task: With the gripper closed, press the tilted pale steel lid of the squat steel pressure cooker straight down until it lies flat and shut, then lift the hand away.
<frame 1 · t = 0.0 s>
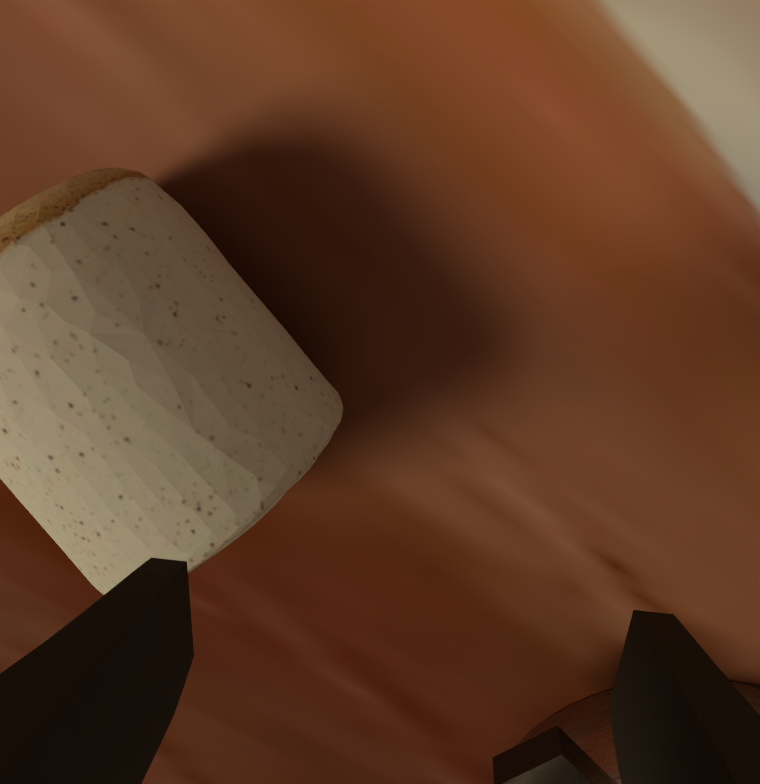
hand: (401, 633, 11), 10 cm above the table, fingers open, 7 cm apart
ceramic mug: (161, 359, 21), on the table
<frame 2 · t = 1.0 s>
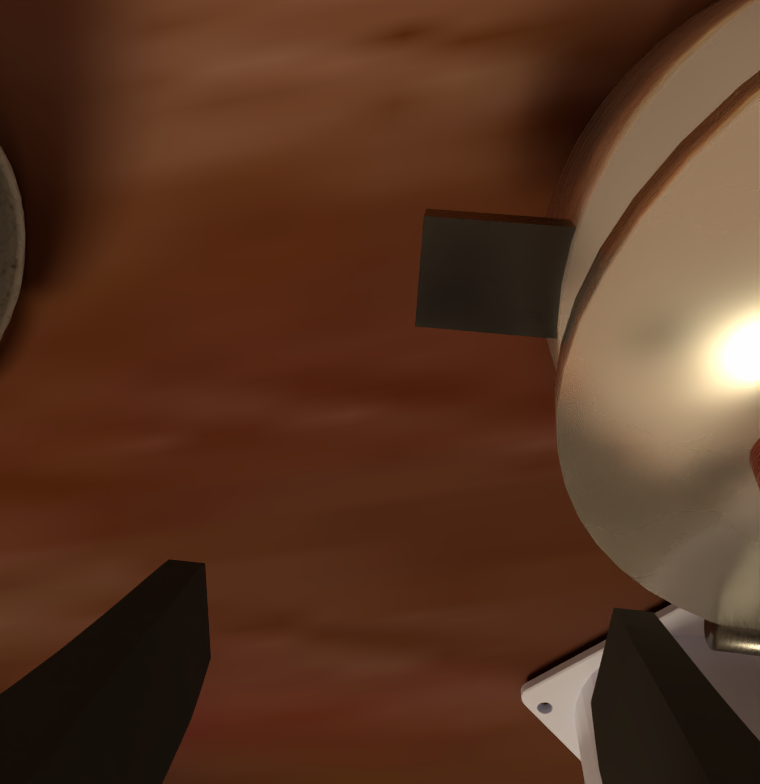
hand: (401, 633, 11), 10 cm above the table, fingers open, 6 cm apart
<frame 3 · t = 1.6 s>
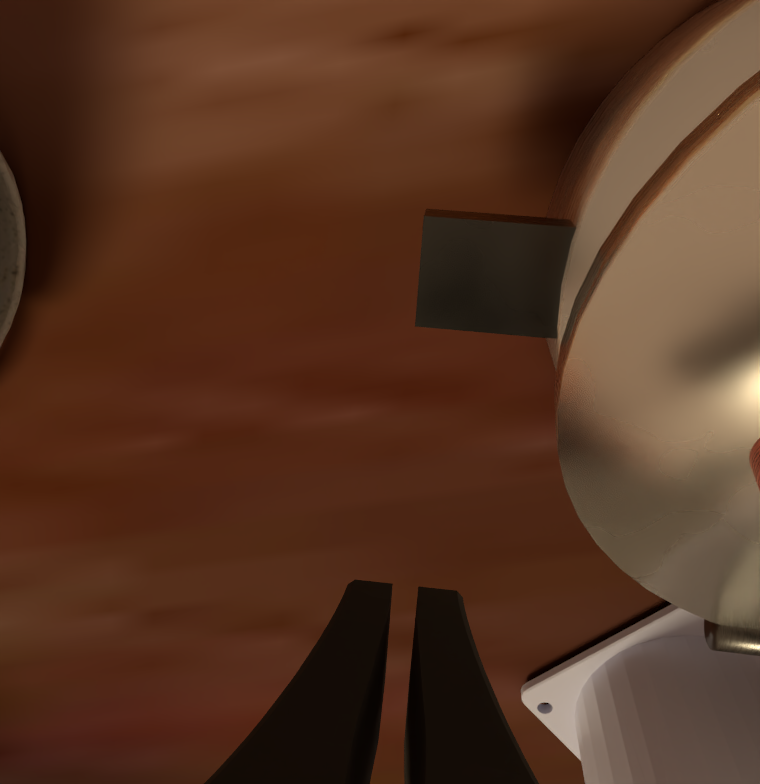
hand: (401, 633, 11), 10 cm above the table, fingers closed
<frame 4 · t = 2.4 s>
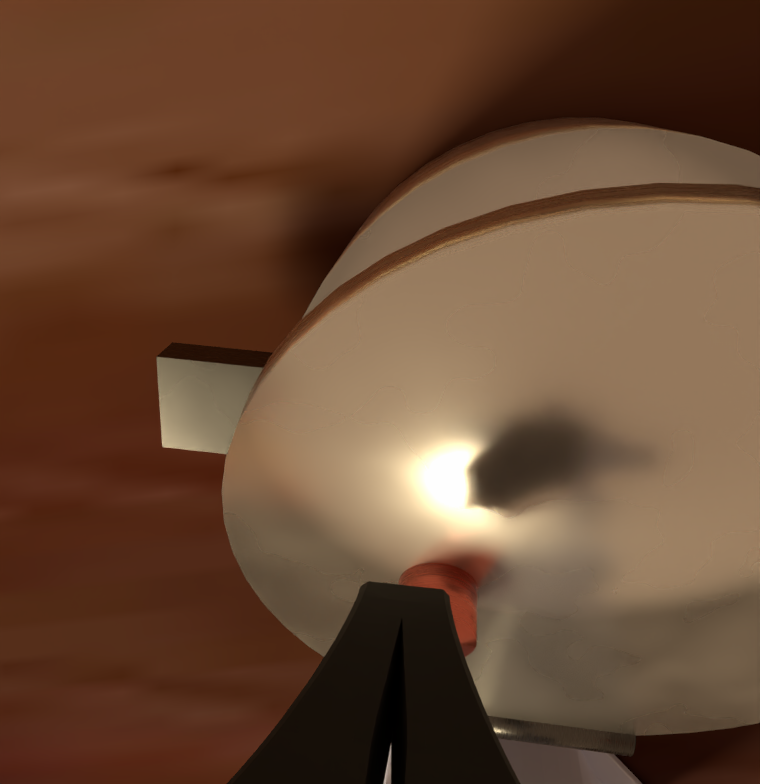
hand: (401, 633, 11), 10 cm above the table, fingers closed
cooker pot: (553, 375, 20), on the table
cooker lid: (600, 583, 13), point 8 cm above the table, hinge at 18.0°
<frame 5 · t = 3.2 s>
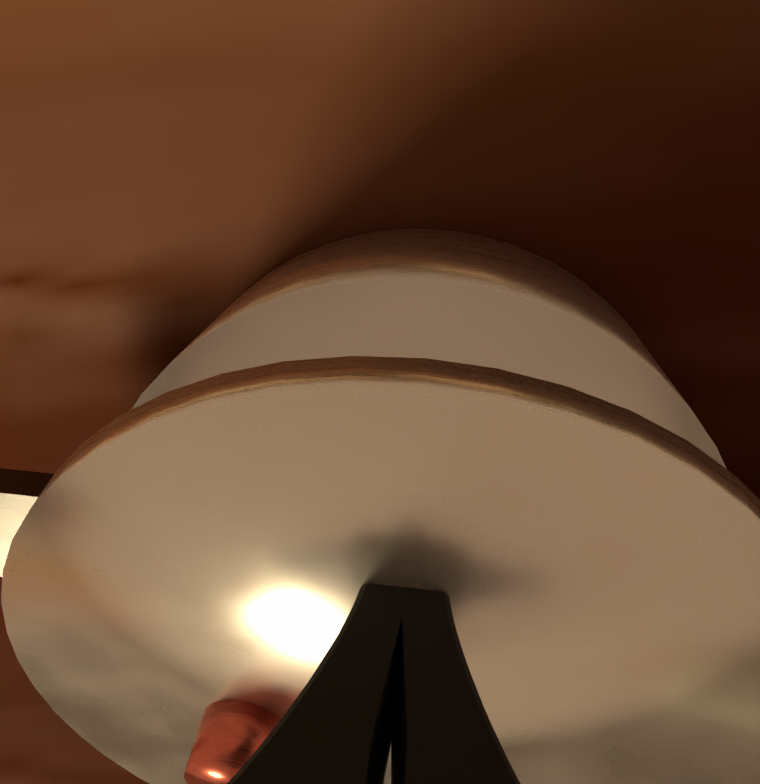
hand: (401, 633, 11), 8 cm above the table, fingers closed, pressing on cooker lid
cooker pot: (417, 478, 20), on the table
cooker lid: (393, 722, 13), point 8 cm above the table, hinge at 13.8°, touching gripper
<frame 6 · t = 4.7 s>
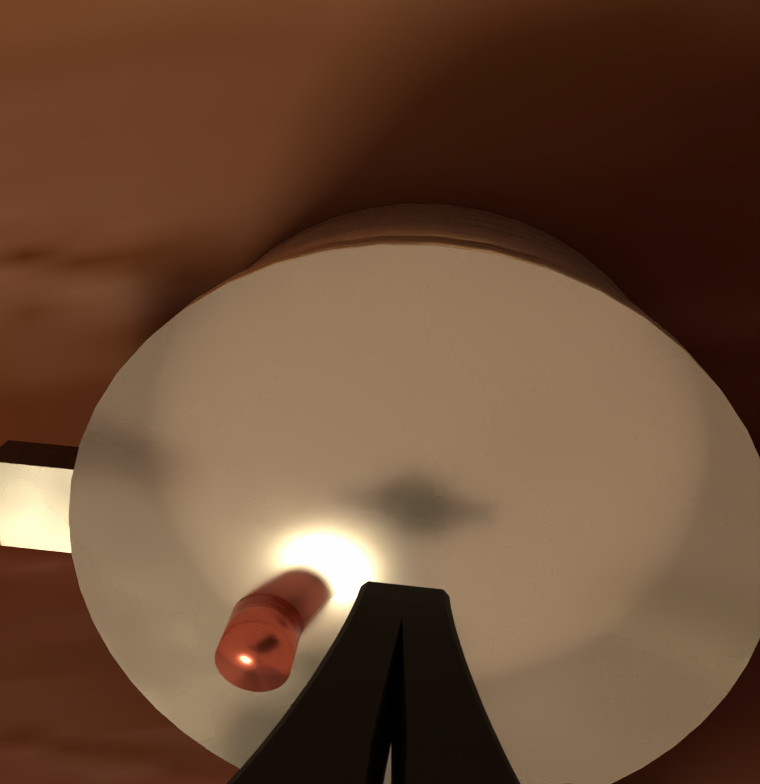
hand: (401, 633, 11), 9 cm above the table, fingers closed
cooker pot: (419, 452, 20), on the table
cooker lid: (404, 606, 15), point 6 cm above the table, hinge at 0.4°
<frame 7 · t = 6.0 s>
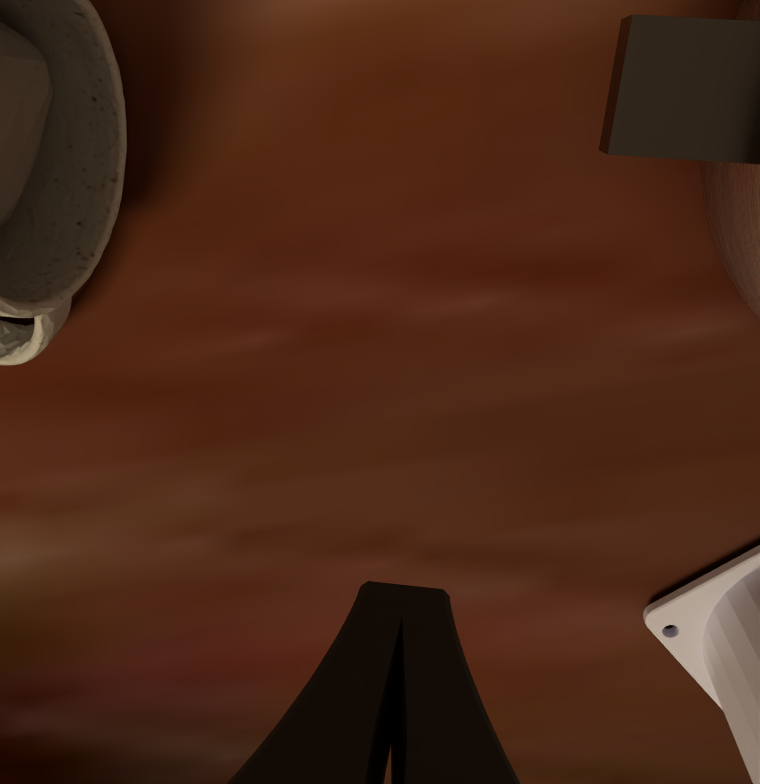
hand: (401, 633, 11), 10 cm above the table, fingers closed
ceramic mug: (7, 165, 20), on the table
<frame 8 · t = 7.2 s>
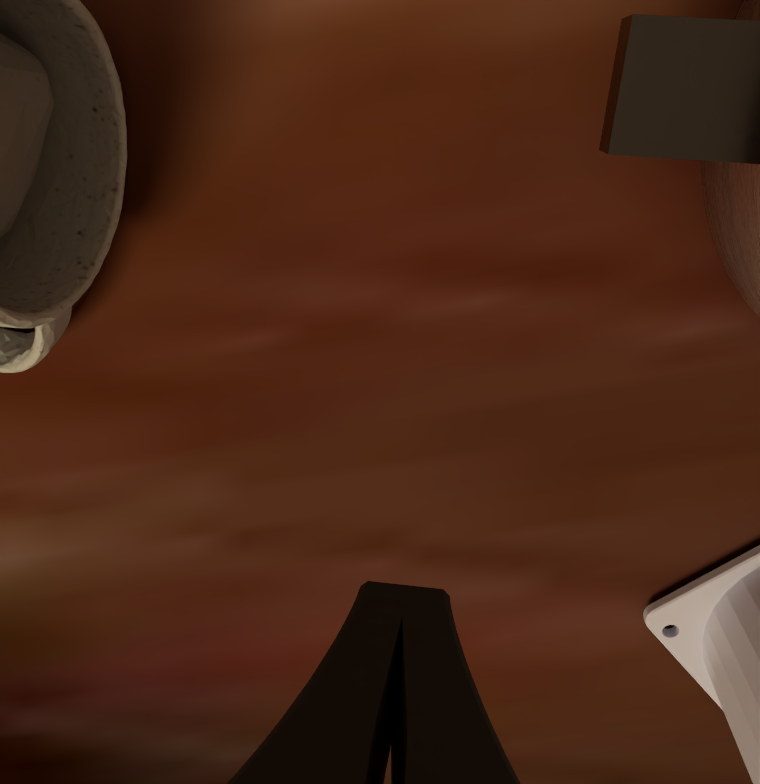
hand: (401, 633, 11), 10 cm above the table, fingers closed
ceramic mug: (8, 175, 20), on the table
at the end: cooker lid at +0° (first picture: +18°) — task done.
